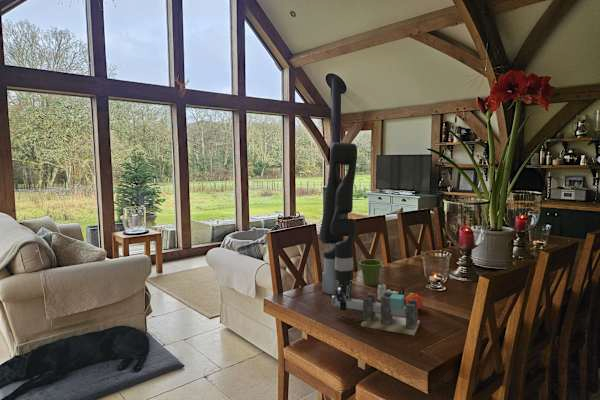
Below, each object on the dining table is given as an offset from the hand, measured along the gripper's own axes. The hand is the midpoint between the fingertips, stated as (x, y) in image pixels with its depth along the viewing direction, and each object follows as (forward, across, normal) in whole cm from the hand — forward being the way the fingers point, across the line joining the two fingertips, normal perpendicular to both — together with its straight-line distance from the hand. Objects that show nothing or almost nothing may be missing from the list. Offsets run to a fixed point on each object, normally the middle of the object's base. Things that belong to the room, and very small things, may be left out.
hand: (344, 308), depth 160 cm
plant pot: (+3, -45, -2) cm, 45 cm away
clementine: (+4, -19, +24) cm, 31 cm away
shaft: (0, 0, +10) cm, 10 cm away
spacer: (-4, 0, +21) cm, 22 cm away
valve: (+4, -26, +13) cm, 29 cm away
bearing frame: (+3, 0, +19) cm, 19 cm away
